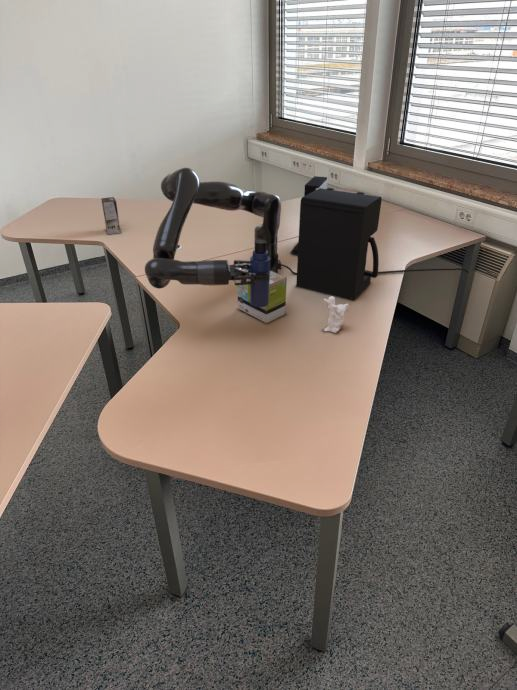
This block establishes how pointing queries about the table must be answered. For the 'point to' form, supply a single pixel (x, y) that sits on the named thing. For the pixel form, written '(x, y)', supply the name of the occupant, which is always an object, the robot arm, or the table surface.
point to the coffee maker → (337, 241)
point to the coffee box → (111, 215)
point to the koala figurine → (335, 315)
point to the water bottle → (260, 265)
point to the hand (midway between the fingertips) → (267, 272)
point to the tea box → (275, 299)
